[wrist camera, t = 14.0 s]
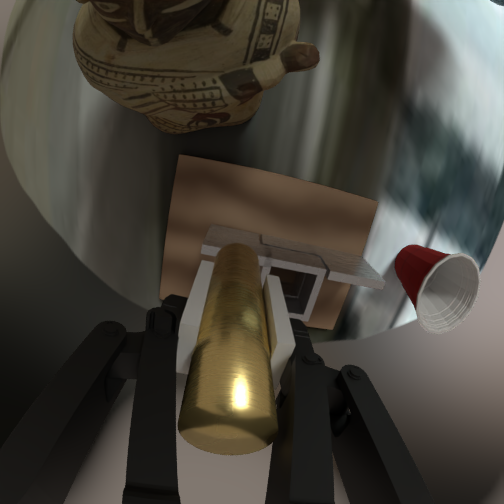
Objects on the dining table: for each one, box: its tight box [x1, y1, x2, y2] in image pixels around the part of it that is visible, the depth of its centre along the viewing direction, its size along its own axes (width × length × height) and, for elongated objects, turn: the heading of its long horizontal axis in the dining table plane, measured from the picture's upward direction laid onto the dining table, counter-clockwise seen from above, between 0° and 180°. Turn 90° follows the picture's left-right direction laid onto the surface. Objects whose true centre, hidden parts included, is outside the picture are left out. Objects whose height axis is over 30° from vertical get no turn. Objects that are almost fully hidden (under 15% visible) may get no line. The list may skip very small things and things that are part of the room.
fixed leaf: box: [260, 234, 386, 298], centre depth 35 cm, size 7×14×8 cm, turn 77°
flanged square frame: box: [201, 224, 327, 322], centre depth 34 cm, size 7×13×8 cm, turn 77°
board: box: [159, 154, 378, 330], centre depth 38 cm, size 20×26×1 cm
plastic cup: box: [395, 245, 481, 334], centre depth 34 cm, size 11×11×12 cm
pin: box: [178, 243, 278, 455], centre depth 14 cm, size 3×3×14 cm
